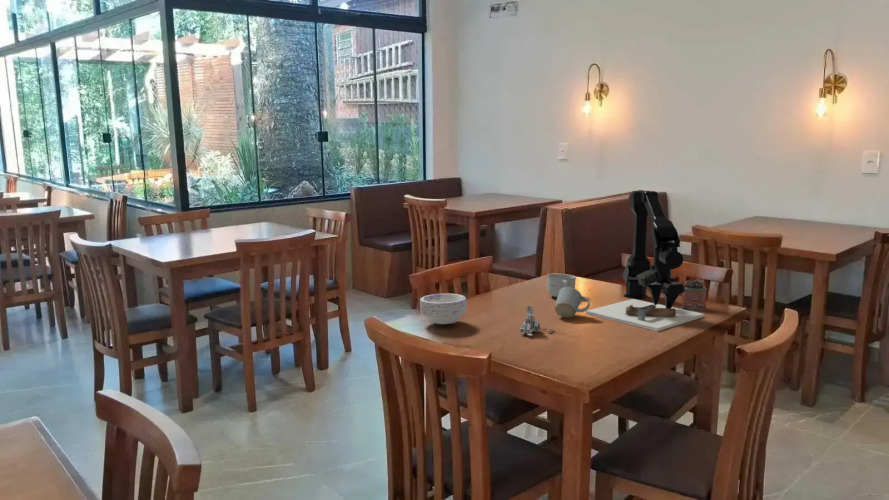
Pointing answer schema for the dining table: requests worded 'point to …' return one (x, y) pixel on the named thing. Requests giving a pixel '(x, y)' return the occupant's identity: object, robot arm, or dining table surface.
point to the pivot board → (651, 322)
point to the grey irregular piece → (530, 323)
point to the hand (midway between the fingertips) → (661, 307)
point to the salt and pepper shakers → (528, 431)
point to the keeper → (642, 311)
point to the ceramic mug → (569, 302)
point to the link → (652, 311)
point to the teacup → (559, 283)
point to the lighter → (694, 296)
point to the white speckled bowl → (443, 307)
